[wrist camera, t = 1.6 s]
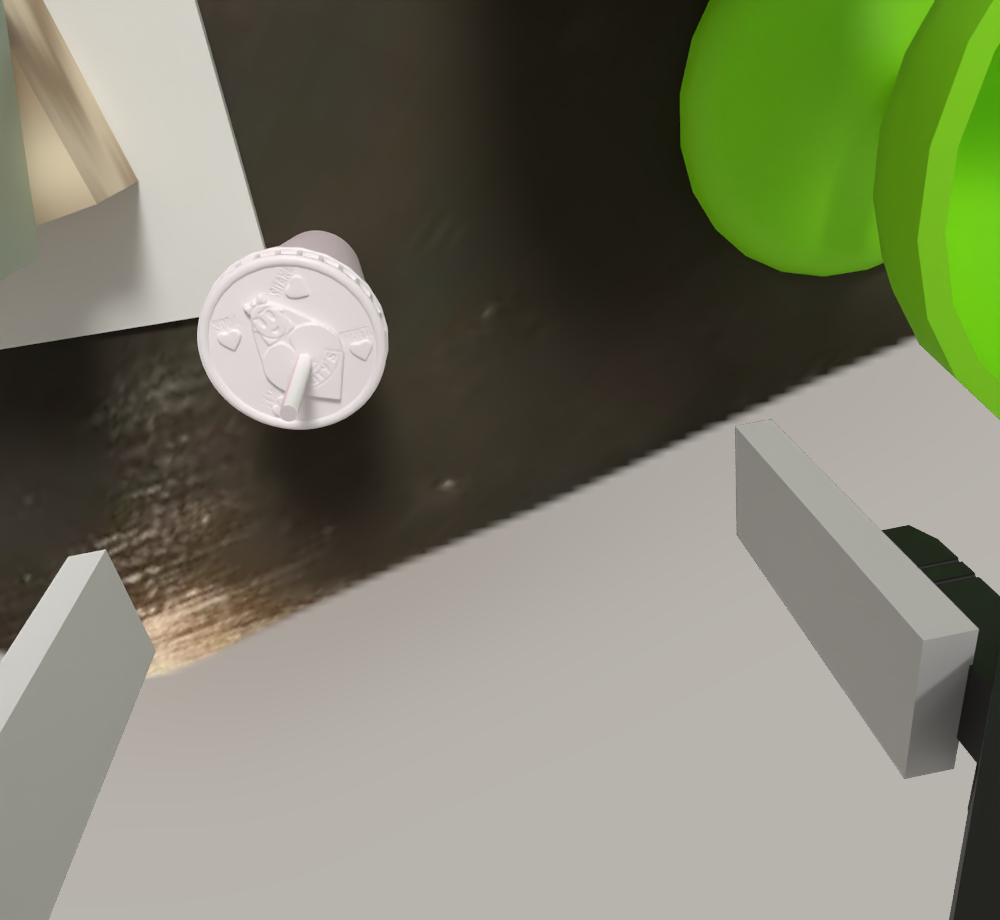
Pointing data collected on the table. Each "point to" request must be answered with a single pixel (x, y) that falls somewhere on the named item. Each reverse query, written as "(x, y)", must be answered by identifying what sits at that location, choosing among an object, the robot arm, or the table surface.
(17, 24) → the beech tray
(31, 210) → the sage block
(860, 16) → the wineglass
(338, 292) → the smoothie
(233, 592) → the table surface
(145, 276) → the felt mat
